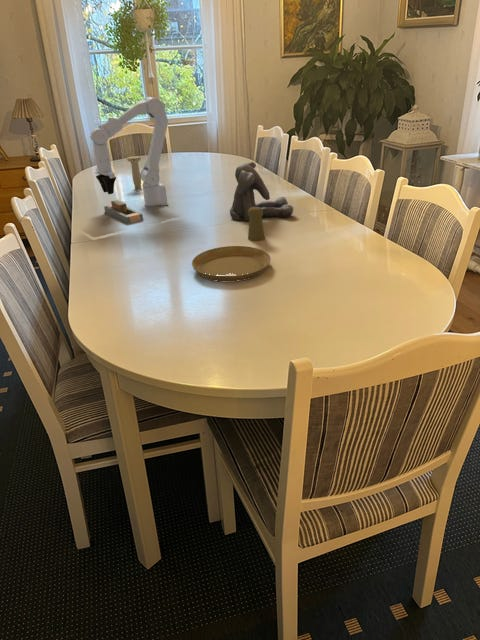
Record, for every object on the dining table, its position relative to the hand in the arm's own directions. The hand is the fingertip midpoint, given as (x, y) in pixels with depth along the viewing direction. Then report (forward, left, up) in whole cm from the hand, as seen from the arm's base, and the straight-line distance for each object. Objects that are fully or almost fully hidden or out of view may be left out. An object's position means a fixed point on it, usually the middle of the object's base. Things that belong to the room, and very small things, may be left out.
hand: (108, 192), depth 218 cm
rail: (0, +12, -8) cm, 15 cm away
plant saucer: (-1, +87, -9) cm, 87 cm away
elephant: (-43, +49, -9) cm, 66 cm away
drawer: (0, +9, -7) cm, 12 cm away
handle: (-28, -31, -9) cm, 43 cm away
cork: (-24, +70, -9) cm, 74 cm away
